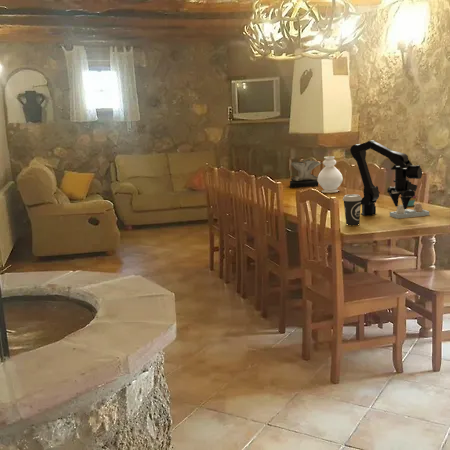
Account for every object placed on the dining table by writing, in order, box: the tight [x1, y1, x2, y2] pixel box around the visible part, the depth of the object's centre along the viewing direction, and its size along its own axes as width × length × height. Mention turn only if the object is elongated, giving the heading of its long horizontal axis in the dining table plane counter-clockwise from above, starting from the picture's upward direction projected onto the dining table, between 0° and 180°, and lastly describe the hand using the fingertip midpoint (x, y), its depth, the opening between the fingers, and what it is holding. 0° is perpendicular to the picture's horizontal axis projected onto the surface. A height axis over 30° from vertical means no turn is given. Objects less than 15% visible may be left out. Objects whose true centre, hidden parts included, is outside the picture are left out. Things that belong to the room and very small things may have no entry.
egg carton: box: [389, 208, 430, 219], centre depth 282 cm, size 18×8×3 cm, turn 101°
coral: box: [289, 159, 322, 189], centre depth 417 cm, size 25×20×22 cm
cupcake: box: [407, 195, 418, 207], centre depth 312 cm, size 9×8×12 cm
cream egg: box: [395, 204, 405, 214], centre depth 281 cm, size 5×5×6 cm
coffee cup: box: [342, 193, 363, 226], centre depth 270 cm, size 10×10×15 cm
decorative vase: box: [317, 155, 344, 194], centre depth 383 cm, size 18×18×25 cm
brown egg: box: [413, 202, 424, 212], centre depth 282 cm, size 5×5×6 cm
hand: (400, 207), depth 280 cm, fingers open, 9 cm apart
